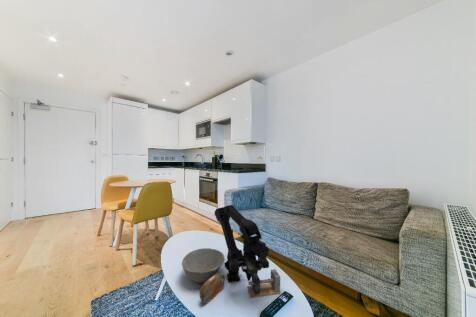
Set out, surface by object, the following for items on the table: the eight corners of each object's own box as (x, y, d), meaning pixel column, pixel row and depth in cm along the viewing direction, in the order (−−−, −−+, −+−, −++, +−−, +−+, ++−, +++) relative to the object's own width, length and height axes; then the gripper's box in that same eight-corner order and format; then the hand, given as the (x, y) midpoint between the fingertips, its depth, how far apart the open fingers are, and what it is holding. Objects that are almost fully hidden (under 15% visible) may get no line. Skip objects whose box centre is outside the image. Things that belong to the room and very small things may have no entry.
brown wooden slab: (203, 307, 81) (203, 289, 81) (198, 304, 83) (198, 286, 83) (225, 287, 93) (225, 271, 93) (220, 284, 95) (220, 268, 95)
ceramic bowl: (172, 280, 98) (172, 261, 98) (204, 259, 117) (204, 244, 116) (202, 300, 85) (202, 279, 85) (232, 273, 104) (232, 256, 104)
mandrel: (246, 287, 94) (247, 271, 93) (274, 283, 97) (275, 268, 96) (250, 298, 87) (250, 281, 87) (280, 293, 90) (280, 277, 90)
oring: (251, 284, 94) (251, 272, 94) (256, 284, 94) (256, 271, 94) (255, 294, 88) (255, 281, 87) (260, 293, 88) (260, 280, 88)
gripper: (233, 260, 80) (232, 296, 80) (273, 256, 83) (273, 290, 84) (229, 247, 91) (228, 278, 91) (265, 244, 94) (264, 274, 95)
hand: (248, 280), depth 90 cm, fingers closed
